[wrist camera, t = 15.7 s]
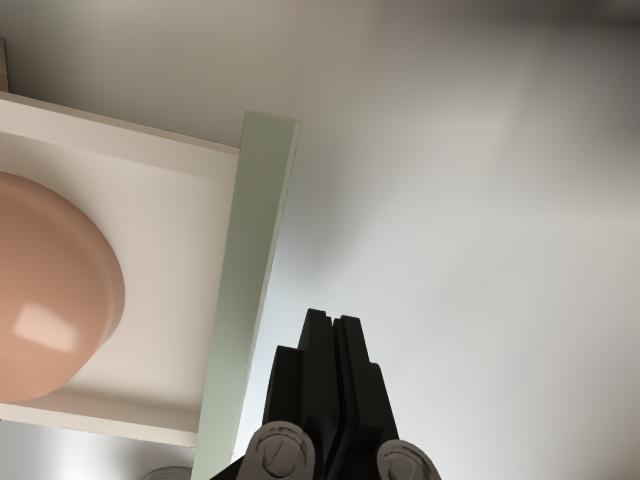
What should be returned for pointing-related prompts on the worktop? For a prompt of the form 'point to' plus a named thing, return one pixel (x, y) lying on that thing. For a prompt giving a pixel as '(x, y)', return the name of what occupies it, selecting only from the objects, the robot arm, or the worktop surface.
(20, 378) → the pink dome
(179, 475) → the shiny gray cylinder
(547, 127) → the worktop surface
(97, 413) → the tray
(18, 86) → the worktop surface
